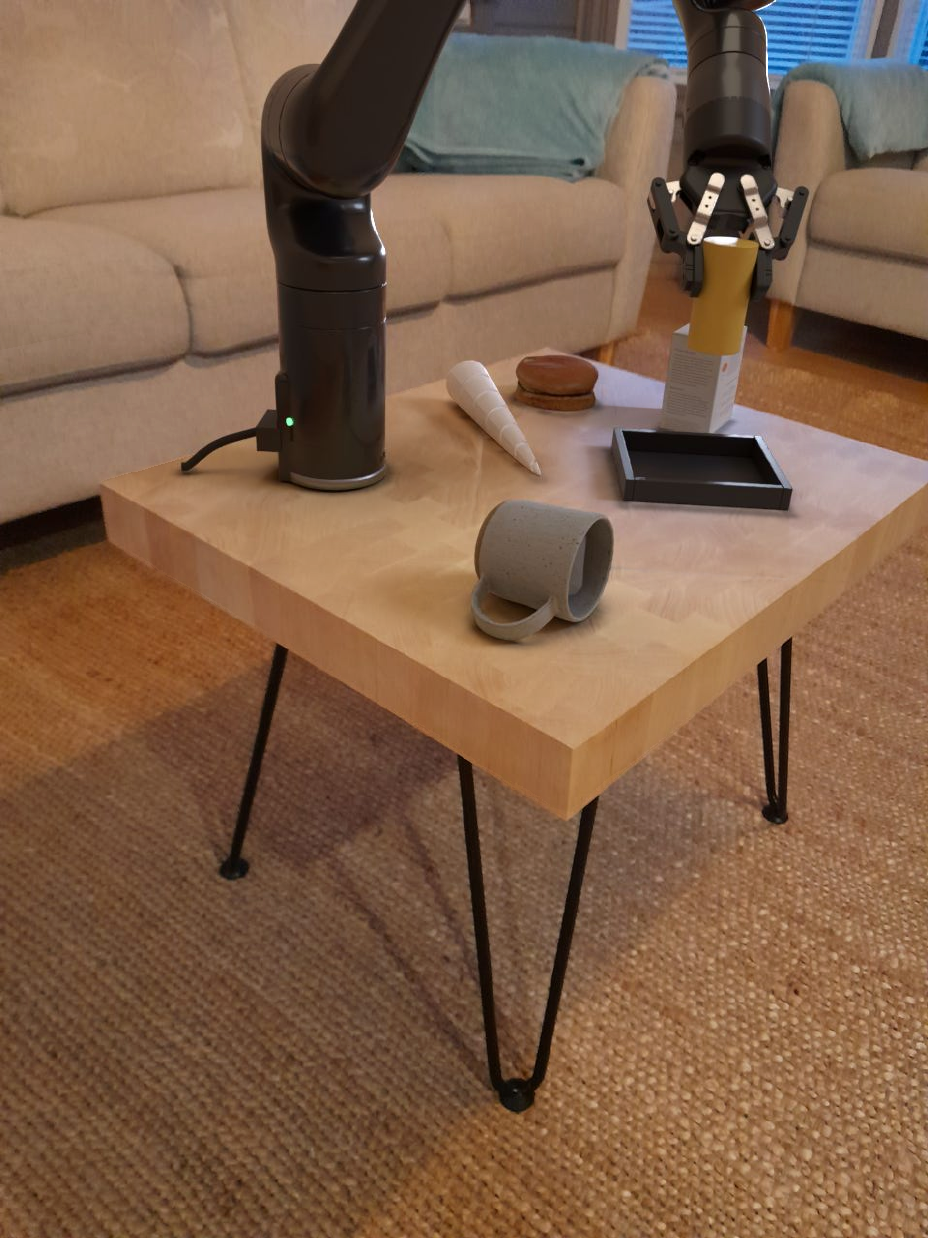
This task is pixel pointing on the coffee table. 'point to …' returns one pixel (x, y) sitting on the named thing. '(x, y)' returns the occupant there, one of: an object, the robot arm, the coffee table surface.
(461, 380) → the unicorn horn
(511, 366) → the coffee table surface
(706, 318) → the yellow cylinder
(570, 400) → the burger
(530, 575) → the ceramic mug
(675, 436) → the tray
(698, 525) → the coffee table surface
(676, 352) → the small box
